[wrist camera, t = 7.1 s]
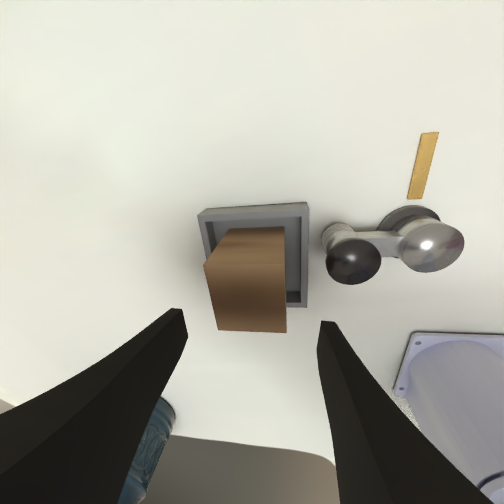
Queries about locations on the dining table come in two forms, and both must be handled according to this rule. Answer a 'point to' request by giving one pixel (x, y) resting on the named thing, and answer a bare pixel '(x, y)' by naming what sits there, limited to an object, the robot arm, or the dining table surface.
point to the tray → (272, 215)
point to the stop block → (249, 280)
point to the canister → (148, 454)
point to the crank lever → (390, 248)
